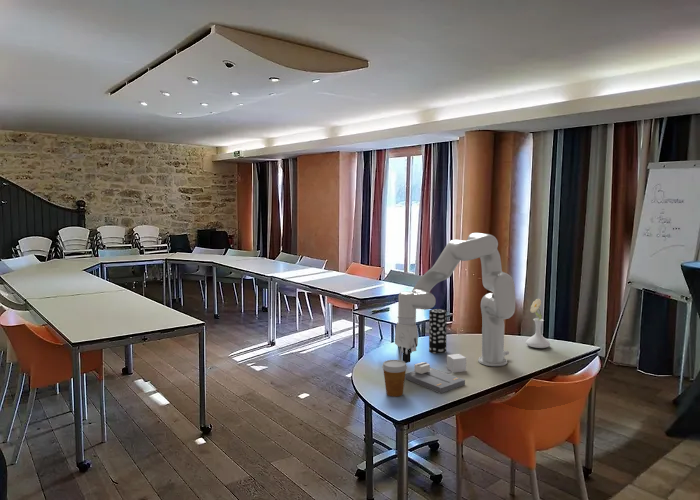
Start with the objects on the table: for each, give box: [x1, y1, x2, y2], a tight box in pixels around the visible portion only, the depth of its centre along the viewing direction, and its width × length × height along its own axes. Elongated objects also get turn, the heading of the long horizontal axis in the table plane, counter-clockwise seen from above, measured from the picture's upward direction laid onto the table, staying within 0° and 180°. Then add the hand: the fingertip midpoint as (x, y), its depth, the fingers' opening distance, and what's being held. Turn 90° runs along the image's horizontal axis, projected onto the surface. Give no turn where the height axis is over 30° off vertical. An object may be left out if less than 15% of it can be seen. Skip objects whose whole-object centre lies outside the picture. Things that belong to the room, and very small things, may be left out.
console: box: [405, 366, 466, 394], centre depth 206 cm, size 14×20×2 cm
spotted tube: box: [428, 308, 448, 355], centre depth 245 cm, size 8×8×20 cm
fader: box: [413, 361, 431, 374], centre depth 211 cm, size 5×4×3 cm
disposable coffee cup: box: [381, 359, 408, 398], centre depth 193 cm, size 10×10×12 cm
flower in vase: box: [525, 298, 551, 349], centre depth 249 cm, size 13×11×25 cm
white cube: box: [446, 353, 467, 373], centre depth 219 cm, size 6×6×6 cm
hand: (406, 361), depth 218 cm, fingers closed
